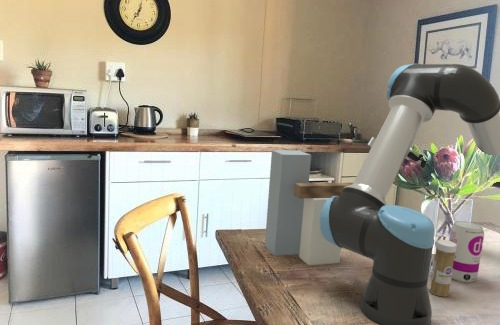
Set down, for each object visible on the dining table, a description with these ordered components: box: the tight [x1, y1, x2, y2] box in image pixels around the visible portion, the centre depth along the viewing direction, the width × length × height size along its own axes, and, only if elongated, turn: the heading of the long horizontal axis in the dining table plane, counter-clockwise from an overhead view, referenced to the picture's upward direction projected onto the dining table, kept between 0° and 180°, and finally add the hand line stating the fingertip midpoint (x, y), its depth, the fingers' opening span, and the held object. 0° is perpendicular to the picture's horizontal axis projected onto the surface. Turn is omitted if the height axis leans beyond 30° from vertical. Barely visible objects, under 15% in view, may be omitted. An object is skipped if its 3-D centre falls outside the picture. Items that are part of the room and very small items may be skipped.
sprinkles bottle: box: [429, 239, 457, 298], centre depth 106 cm, size 5×5×13 cm
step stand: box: [264, 149, 342, 266], centre depth 124 cm, size 17×16×30 cm
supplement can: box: [448, 220, 485, 283], centre depth 116 cm, size 8×8×15 cm
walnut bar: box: [294, 182, 354, 199], centre depth 120 cm, size 22×4×4 cm, turn 109°
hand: (384, 143), depth 123 cm, fingers open, 13 cm apart
